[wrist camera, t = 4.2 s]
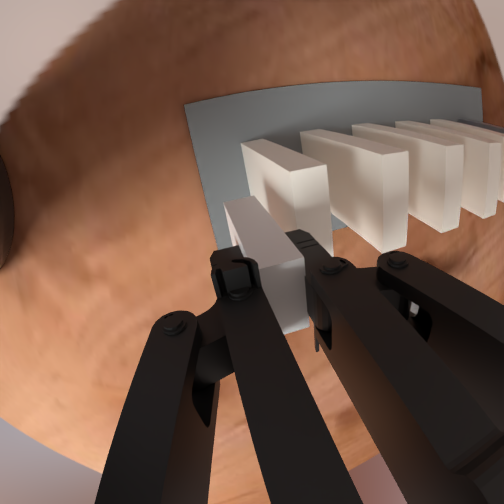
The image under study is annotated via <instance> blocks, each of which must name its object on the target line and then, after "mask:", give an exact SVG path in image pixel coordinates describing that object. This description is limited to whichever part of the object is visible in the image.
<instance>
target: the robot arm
mask: <svg viewBox="0 0 504 504" xmlns="http://www.w3.org/2000/svg"><path fill="white" fill-rule="evenodd" d="M223 203H224V208H225V212H226V217H227V222H228V226H229V231H230V236H231V240H232V245H233V246H232V247H228V248H224V249H220V250H216V251H214V252H213V254H212V255H211V257H210V262H211V266H212V271H211V278H212V281H213V285H214V289H215V292H216V296H217V300H216V303H215V304H214V305H213V306H212V307H211V308H210V309H209V310H208V311H206V312H204V313H203V314H201V315H199V316H195V315H194V314H193V313H191V312H188V311H174V312H170V313H168V314H166V315H164V316H162V317H161V318H160V319H158V320H157V321H156V322H155V324H154V325H153V327H152V329H151V332H150V334H149V337H148V340H147V342H146V345H145V348H144V350H143V353H142V356H141V358H140V361H139V364H138V366H137V369H136V372H135V375H134V378H133V380H132V383H131V386H130V389H129V392H128V395H127V398H126V401H125V403H124V406H123V409H122V412H121V415H120V418H119V422H118V425H117V428H116V431H115V434H114V437H113V440H112V444H111V447H110V450H109V454H108V457H107V460H106V464H105V467H104V471H103V474H102V478H101V481H100V485H99V489H98V492H97V496H96V500H95V504H208V493H209V483H210V473H211V464H212V454H213V444H214V435H215V426H216V417H217V408H218V399H219V390H220V379H222V378H224V377H226V376H228V375H230V374H231V373H233V372H235V376H236V380H237V384H238V388H239V392H240V396H241V400H242V403H243V407H244V411H245V415H246V418H247V422H248V426H249V430H250V433H251V437H252V441H253V444H254V448H255V451H256V455H257V458H258V462H259V465H260V469H261V472H262V475H263V479H264V482H265V485H266V489H267V492H268V495H269V499H270V502H271V504H363V502H362V500H361V498H360V496H359V494H358V492H357V490H356V487H355V485H354V483H353V481H352V479H351V477H350V475H349V473H348V471H347V468H346V466H345V464H344V462H343V460H342V458H341V456H340V454H339V451H338V449H337V447H336V445H335V443H334V441H333V439H332V437H331V434H330V432H329V430H328V428H327V426H326V424H325V422H324V420H323V417H322V415H321V413H320V411H319V409H318V407H317V405H316V403H315V400H314V398H313V396H312V394H311V392H310V390H309V388H308V385H307V383H306V381H305V379H304V377H303V375H302V373H301V370H300V368H299V366H298V364H297V362H296V360H295V357H294V355H293V353H292V351H291V349H290V347H289V345H288V342H287V340H286V338H285V336H284V334H287V333H290V332H294V331H297V330H300V329H304V328H307V327H309V316H310V317H311V319H312V321H313V322H314V338H315V350H316V352H318V351H319V344H320V345H321V347H322V349H323V351H324V353H325V354H326V356H327V358H328V360H329V361H330V363H331V365H332V367H333V369H334V370H335V372H336V374H337V376H338V377H339V379H340V381H341V383H342V385H343V386H344V388H345V390H346V392H347V394H348V395H349V397H350V399H351V401H352V402H353V404H354V406H355V408H356V410H357V411H358V413H359V415H360V417H361V419H362V421H363V422H364V424H365V426H366V428H367V430H368V431H369V433H370V435H371V437H372V439H373V441H374V442H375V444H376V446H377V448H378V450H379V451H380V453H381V455H382V457H383V459H384V461H385V462H386V464H387V466H388V468H389V470H390V472H391V473H392V475H393V477H394V479H395V481H396V482H397V485H398V487H399V488H400V490H401V492H402V494H403V496H404V498H405V500H406V501H407V504H504V305H502V304H500V303H499V302H497V301H495V300H494V299H492V298H490V297H488V296H487V295H485V294H483V293H481V292H480V291H478V290H476V289H474V288H473V287H471V286H469V285H467V284H465V283H464V282H462V281H460V280H458V279H456V278H454V277H453V276H451V275H449V274H447V273H445V272H443V271H441V270H439V269H438V268H436V267H434V266H432V265H430V264H428V263H426V262H424V261H422V260H420V259H418V258H416V257H414V256H412V255H410V254H408V253H405V252H400V251H390V252H386V253H383V254H382V255H380V256H379V257H378V260H377V267H369V268H356V267H355V266H354V265H353V264H352V263H351V262H350V261H348V260H347V259H344V258H340V257H332V256H331V255H330V254H329V253H328V252H327V251H326V250H325V249H324V248H323V247H322V246H321V245H320V244H319V242H318V241H317V240H315V238H314V237H313V236H312V235H311V234H310V233H308V232H306V231H303V230H301V229H298V230H293V231H289V232H285V233H284V231H283V230H282V229H281V228H280V226H279V225H278V224H277V223H276V222H275V220H274V219H273V218H272V217H271V215H270V214H269V213H268V212H267V210H266V209H265V208H264V207H263V206H262V204H261V203H260V202H259V201H258V200H257V198H256V197H255V196H249V197H245V198H240V199H236V200H232V201H227V202H223ZM13 229H14V206H13V198H12V191H11V186H10V182H9V178H8V175H7V171H6V168H5V166H4V163H3V161H2V158H1V156H0V268H1V267H2V265H3V264H4V262H5V260H6V258H7V255H8V253H9V250H10V246H11V242H12V237H13ZM412 302H413V303H415V304H416V305H418V306H419V308H418V313H417V314H415V313H413V312H411V311H410V310H411V304H412Z"/></svg>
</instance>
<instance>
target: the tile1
mask: <svg viewBox="0 0 504 504" xmlns="http://www.w3.org/2000/svg"><path fill="white" fill-rule="evenodd" d="M241 148H242V153H243V158H244V164H245V169H246V174H247V179H248V185H249V190H250V195H251V196H255V197H256V198H257V200H258V201H259V202H260V203H261V204H262V206H263V207H264V208H265V209H266V210H267V212H268V213H269V214H270V215H271V217H272V218H273V219H274V220H275V222H276V223H277V224H278V225H279V226H280V228H281V229H282V230H283V231H284V233H285V232H289V231H293V230H298V229H301V230H303V231H306V232H308V233H310V234H311V235H312V236H313V237H314V238H315V240H317V241H318V242H319V244H320V245H321V246H322V247H323V248H324V249H325V250H326V251H327V252H328V253H329V254H330V255H331V256H332V257H333V239H332V223H331V209H330V196H329V185H328V174H327V165H326V164H324V163H322V162H320V161H317V160H315V159H313V158H310V157H308V156H305V155H303V154H301V153H298V152H296V151H293V150H291V149H288V148H286V147H283V146H281V145H278V144H276V143H273V142H271V141H268V140H265V139H258V140H253V141H248V142H243V143H241Z"/></svg>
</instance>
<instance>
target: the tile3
mask: <svg viewBox="0 0 504 504" xmlns="http://www.w3.org/2000/svg"><path fill="white" fill-rule="evenodd" d="M352 135H353V136H354V137H358V138H362V139H366V140H370V141H374V142H378V143H382V144H385V145H389V146H393V147H396V148H400V149H403V150H406V151H408V159H409V199H408V213H409V214H410V215H412V216H414V217H416V218H417V219H419V220H421V221H422V222H424V223H426V224H427V225H429V226H431V227H432V228H434V229H435V230H437V231H439V232H440V233H443V232H446V231H449V230H452V229H455V228H457V227H458V226H459V218H460V208H461V197H462V183H463V161H464V144H460V143H457V142H453V141H449V140H446V139H442V138H438V137H434V136H430V135H426V134H422V133H417V132H413V131H408V130H403V129H399V128H394V127H388V126H383V125H377V124H372V123H362V124H353V125H352Z"/></svg>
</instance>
